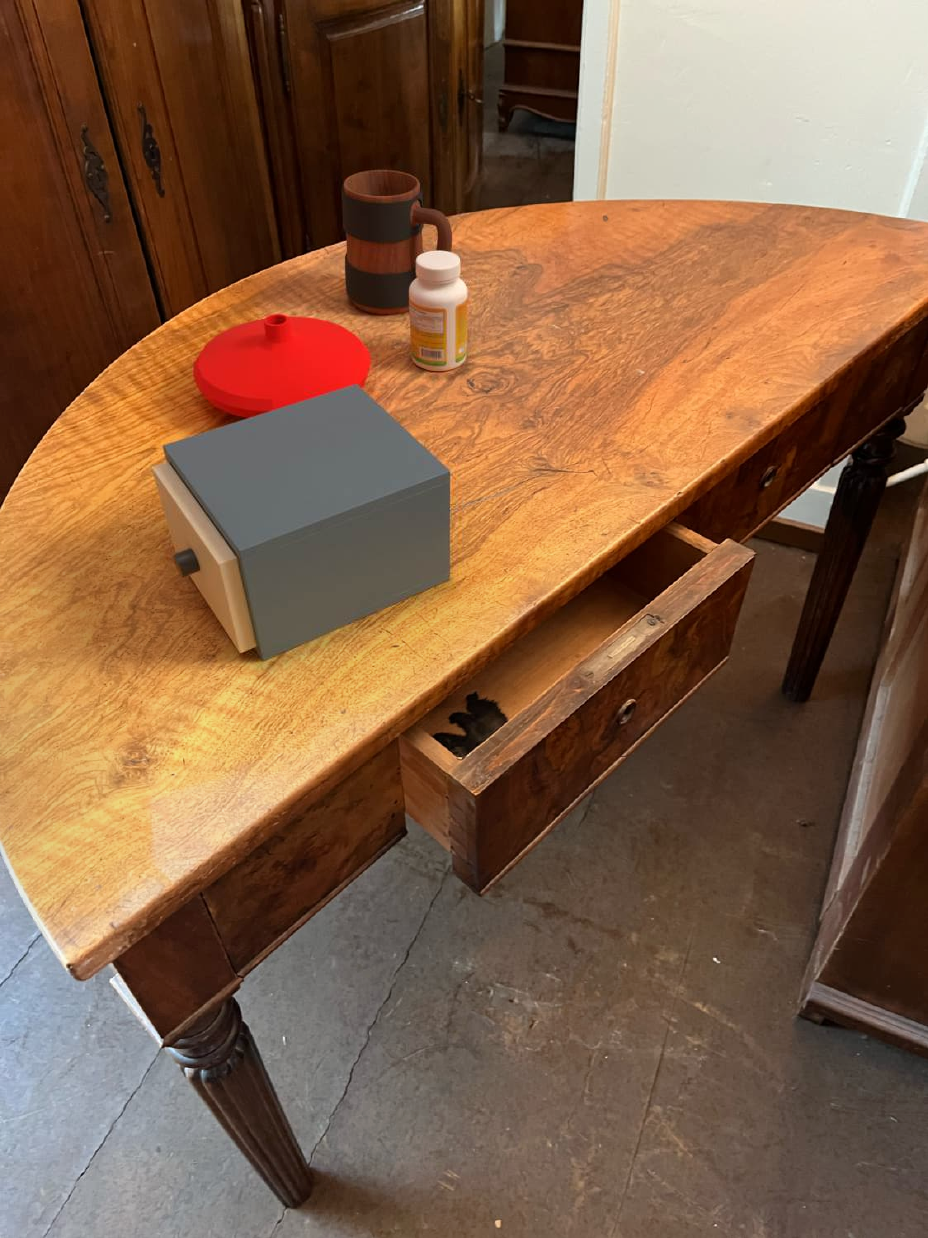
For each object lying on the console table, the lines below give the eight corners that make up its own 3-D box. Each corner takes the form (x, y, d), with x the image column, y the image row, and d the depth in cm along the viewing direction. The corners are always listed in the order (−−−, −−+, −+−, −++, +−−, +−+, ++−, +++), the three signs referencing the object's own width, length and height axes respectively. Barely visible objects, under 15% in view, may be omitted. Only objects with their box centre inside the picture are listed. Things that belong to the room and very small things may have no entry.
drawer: (222, 661, 57) (198, 571, 52) (160, 561, 64) (132, 472, 58) (418, 577, 63) (415, 488, 57) (342, 494, 69) (333, 407, 64)
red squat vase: (273, 464, 74) (260, 388, 69) (164, 393, 81) (145, 320, 76) (408, 391, 82) (406, 319, 77) (298, 332, 89) (289, 263, 84)
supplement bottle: (451, 340, 89) (452, 242, 82) (476, 365, 85) (478, 265, 78) (402, 351, 87) (398, 252, 80) (425, 377, 84) (422, 276, 77)
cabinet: (263, 661, 58) (238, 550, 51) (191, 554, 66) (162, 445, 59) (450, 579, 64) (450, 470, 57) (365, 489, 71) (356, 383, 65)
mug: (431, 332, 90) (429, 213, 81) (331, 305, 93) (319, 189, 85) (469, 297, 95) (472, 182, 87) (373, 273, 99) (367, 161, 91)
